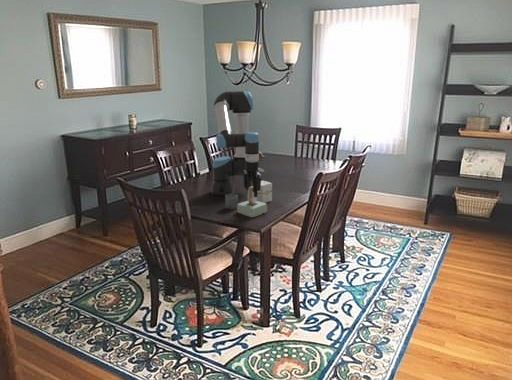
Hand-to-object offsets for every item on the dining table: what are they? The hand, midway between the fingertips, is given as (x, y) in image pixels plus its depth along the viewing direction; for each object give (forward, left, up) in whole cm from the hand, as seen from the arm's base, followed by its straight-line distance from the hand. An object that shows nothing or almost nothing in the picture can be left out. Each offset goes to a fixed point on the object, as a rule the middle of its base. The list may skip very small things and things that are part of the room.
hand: (252, 201), depth 229 cm
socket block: (0, 0, -7) cm, 7 cm away
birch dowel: (0, 0, -4) cm, 4 cm away
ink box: (-10, +19, -7) cm, 23 cm away
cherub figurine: (-68, +69, -7) cm, 97 cm away
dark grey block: (-14, -3, -7) cm, 16 cm away
